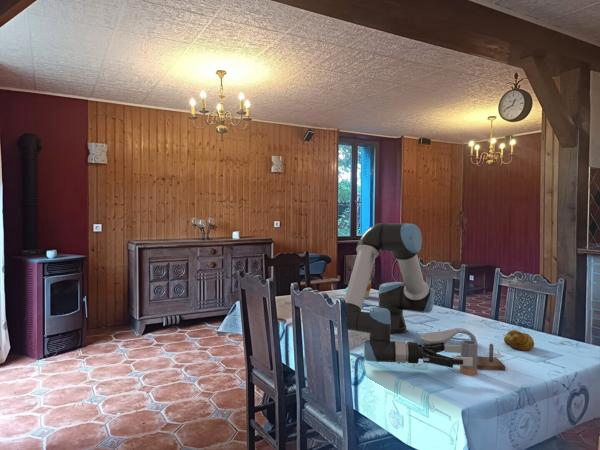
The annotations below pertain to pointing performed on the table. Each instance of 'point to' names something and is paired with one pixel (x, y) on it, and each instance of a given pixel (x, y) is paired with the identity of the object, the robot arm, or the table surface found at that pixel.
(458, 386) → the table surface
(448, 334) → the spoon rest
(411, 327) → the table surface
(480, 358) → the pin board
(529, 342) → the bread roll
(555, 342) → the table surface
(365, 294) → the reusable coffee cup
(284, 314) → the table surface
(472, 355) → the sleeve
